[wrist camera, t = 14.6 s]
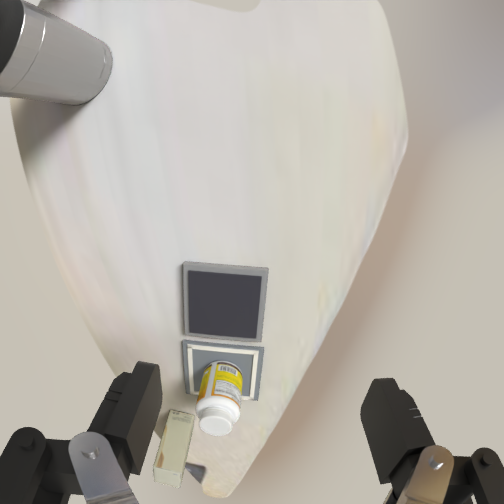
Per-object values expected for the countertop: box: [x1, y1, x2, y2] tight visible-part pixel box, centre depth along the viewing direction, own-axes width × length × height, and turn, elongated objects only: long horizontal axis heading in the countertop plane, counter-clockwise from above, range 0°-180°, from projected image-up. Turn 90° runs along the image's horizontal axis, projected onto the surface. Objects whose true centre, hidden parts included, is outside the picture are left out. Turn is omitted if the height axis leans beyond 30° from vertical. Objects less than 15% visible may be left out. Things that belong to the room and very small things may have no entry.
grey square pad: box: [183, 340, 264, 401], centre depth 42 cm, size 11×10×1 cm
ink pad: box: [183, 261, 268, 342], centre depth 38 cm, size 10×10×1 cm
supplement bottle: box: [195, 361, 243, 436], centre depth 37 cm, size 6×6×10 cm
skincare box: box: [153, 410, 194, 488], centre depth 41 cm, size 6×4×12 cm
